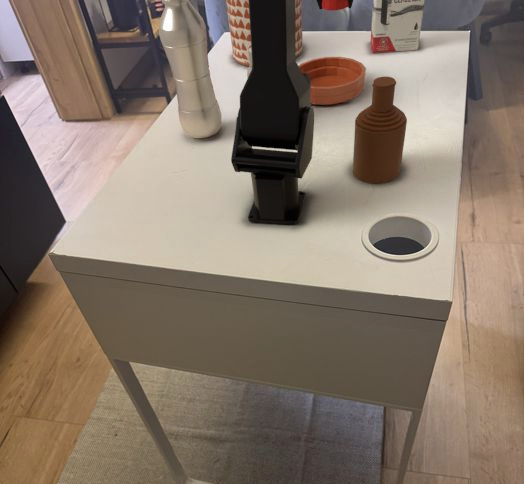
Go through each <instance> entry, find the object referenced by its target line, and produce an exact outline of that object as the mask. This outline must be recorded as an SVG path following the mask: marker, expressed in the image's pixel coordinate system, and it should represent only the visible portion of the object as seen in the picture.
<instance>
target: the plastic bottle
mask: <svg viewBox="0 0 524 484" xmlns="http://www.w3.org/2000/svg"><path fill="white" fill-rule="evenodd" d="M161 3H162V4H164V9H163V11H162V14H161V16H160V20H159V24H158V36H159V39H160V42H161V45H162V47H163V50H164V53H165V56H166V58H167V61H168V65H169V67H170V71H171V74H172V78H173V82H174V86H175V93H176V98H177V99H176V100H177V112H178V121H179V124H180V127H181V128H182V130H183V132H184V133H185V134H186V135H187V136H188V137H190V138H194V139H203V138H208V137H212V136H214V135H216V134H217V133H218V132H219V131H220V129H221V127H222V125H223V124H222V123H223V122H222V121H223V120H222V118H223V117H222V116H223V115H222V111H221V107H220V104H219V101H218V99H217V97H216V93H215V89H214V85H213V82H212V77H211V71H210V64H209V53H208V36H207V34H208V33H207V25H206V23H205V21H204V19H203V17H202V15H201V14H200V13H199V11H198V10H197V8H195V7H194V6H193V4H192V3H191V1H190V0H161Z"/></svg>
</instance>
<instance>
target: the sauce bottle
mask: <svg viewBox="0 0 524 484" xmlns="http://www.w3.org/2000/svg"><path fill="white" fill-rule="evenodd" d="M372 82H373V83H372V86H371V87H372V94H371V104H370V105H369V106H367V107H366V108H364V109H363V110H362V111H360V112H359V113H358V114H357V116H356V117H355V119H354V136H353V137H354V140H353V155H352V161H353V162H352V174H353V176H354V177H355V178H356V179H357V180H359V181H361V182H364V183H368V184H385V183H388V182H391V181H393V180H395V179H397V178H398V176H399V175H400V173H401V169H402V162H403V161H402V160H403V155H404V146H405V140H406V130H407V124H408V119H407V116H406V113H405V112H403V111H402V109H400V108H398V107H397V106H396V105H395V104H394V99H395V89H396V85H397V81H396V79H395V78H394V77H392V76H379V77H376V78H374V80H373V81H372Z"/></svg>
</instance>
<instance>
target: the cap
mask: <svg viewBox="0 0 524 484" xmlns="http://www.w3.org/2000/svg"><path fill="white" fill-rule="evenodd" d="M348 6H349V4H348V0H322V8H323V9H322V10H325V11H331V12H332V11H340V10H344V9H346V8H347V9H348Z"/></svg>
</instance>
